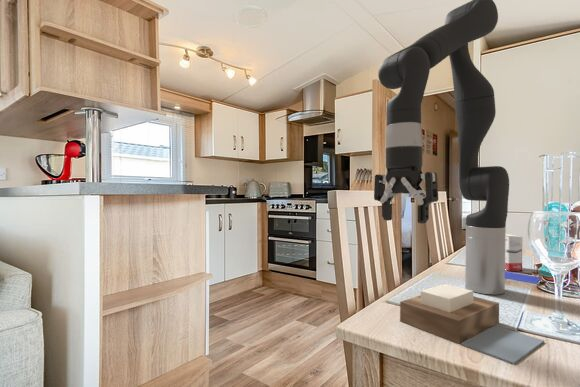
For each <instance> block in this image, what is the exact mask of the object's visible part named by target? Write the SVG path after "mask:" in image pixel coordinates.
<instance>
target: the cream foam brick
mask: <svg viewBox="0 0 580 387" xmlns="http://www.w3.org/2000/svg"><path fill="white" fill-rule="evenodd" d="M420 295H421V304H424V305H427V306H430V307H434V308H437V309H440V310H443V311H446V312H452V311H455V310H457V309H460V308H462V307H465V306H467V305H470V304H472V303H473V296H474V291H472V290H468V289H467V288H463V287H459V286H454V285H452V284H451V285H450V284H447V283H444V284H440V285H436V286H433V287H430V288H426V289H423V290H420Z"/></svg>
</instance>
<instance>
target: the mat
mask: <svg viewBox="0 0 580 387" xmlns="http://www.w3.org/2000/svg"><path fill="white" fill-rule="evenodd" d="M544 343H545V340H544V339H541V338H538V337H534V336H530V335H528V334H525V333H521V332H518V331H515V330H512V329H509V328H505V327H502V326H498V325H497V324H495V325H493V326H491V327H489V328H487V329H486V330H484V331H482V332H480V333H478V334H476V335H474V336H472V337H470V338H468V339H466V340H464V341H463V342H461V345H462V346H464V347H466V348H469V349H472V350H475V351H477V352H480V353H482V354H485V355H488V356H490V357H493V358H496V359H498V360H501V361H504V362H506V363H508V364H511V365H515V364H517V363H518V362H520V360H522V359H523V358H525V357H526V356H528V355H529V354H530V353H532V352H534V351H535V349H537V348H538V347H539V346H541V345H543V344H544Z"/></svg>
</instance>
